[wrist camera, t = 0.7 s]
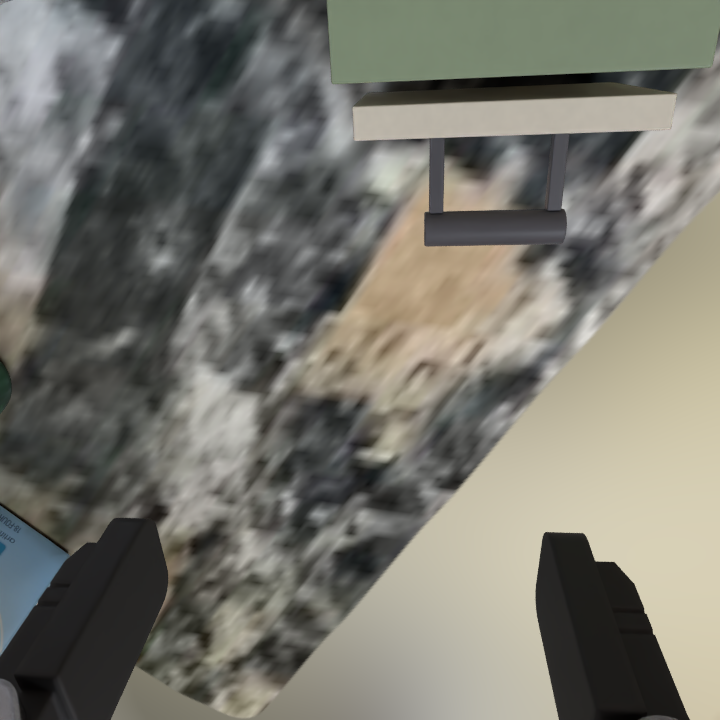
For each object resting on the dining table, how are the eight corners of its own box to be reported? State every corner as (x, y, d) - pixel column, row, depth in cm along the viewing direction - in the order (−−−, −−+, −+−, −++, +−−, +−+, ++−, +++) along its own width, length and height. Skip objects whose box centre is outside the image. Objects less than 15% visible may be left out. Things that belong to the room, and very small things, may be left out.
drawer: (594, 214, 31) (646, 263, 24) (371, 219, 32) (359, 267, 25) (662, -285, 22) (774, -436, 15) (355, -255, 23) (329, -384, 16)
